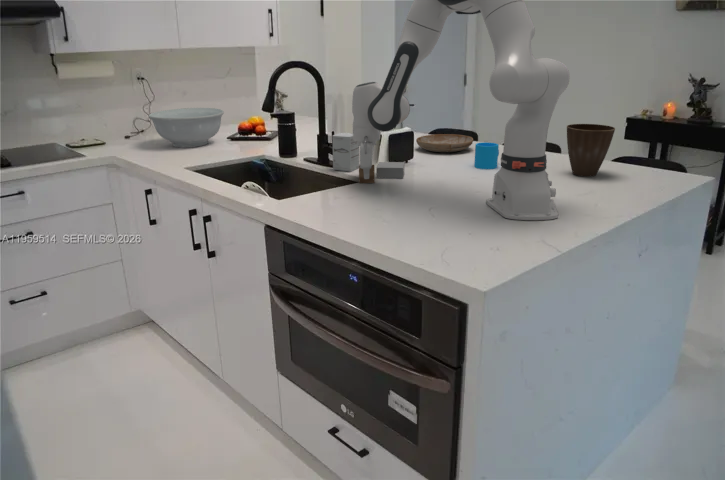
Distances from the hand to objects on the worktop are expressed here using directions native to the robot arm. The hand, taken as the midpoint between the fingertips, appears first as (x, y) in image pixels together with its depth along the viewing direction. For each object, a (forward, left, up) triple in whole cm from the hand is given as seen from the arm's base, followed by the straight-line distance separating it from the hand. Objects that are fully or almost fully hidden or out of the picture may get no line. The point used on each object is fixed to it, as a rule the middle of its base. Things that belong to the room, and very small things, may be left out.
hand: (366, 176), depth 181 cm
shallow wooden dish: (+53, -31, -2) cm, 61 cm away
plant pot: (+8, -74, -2) cm, 74 cm away
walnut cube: (0, 0, -2) cm, 2 cm away
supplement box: (+18, +8, -2) cm, 20 cm away
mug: (+22, -44, -2) cm, 49 cm away
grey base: (+8, -8, -2) cm, 11 cm away
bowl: (+70, +83, -2) cm, 109 cm away
